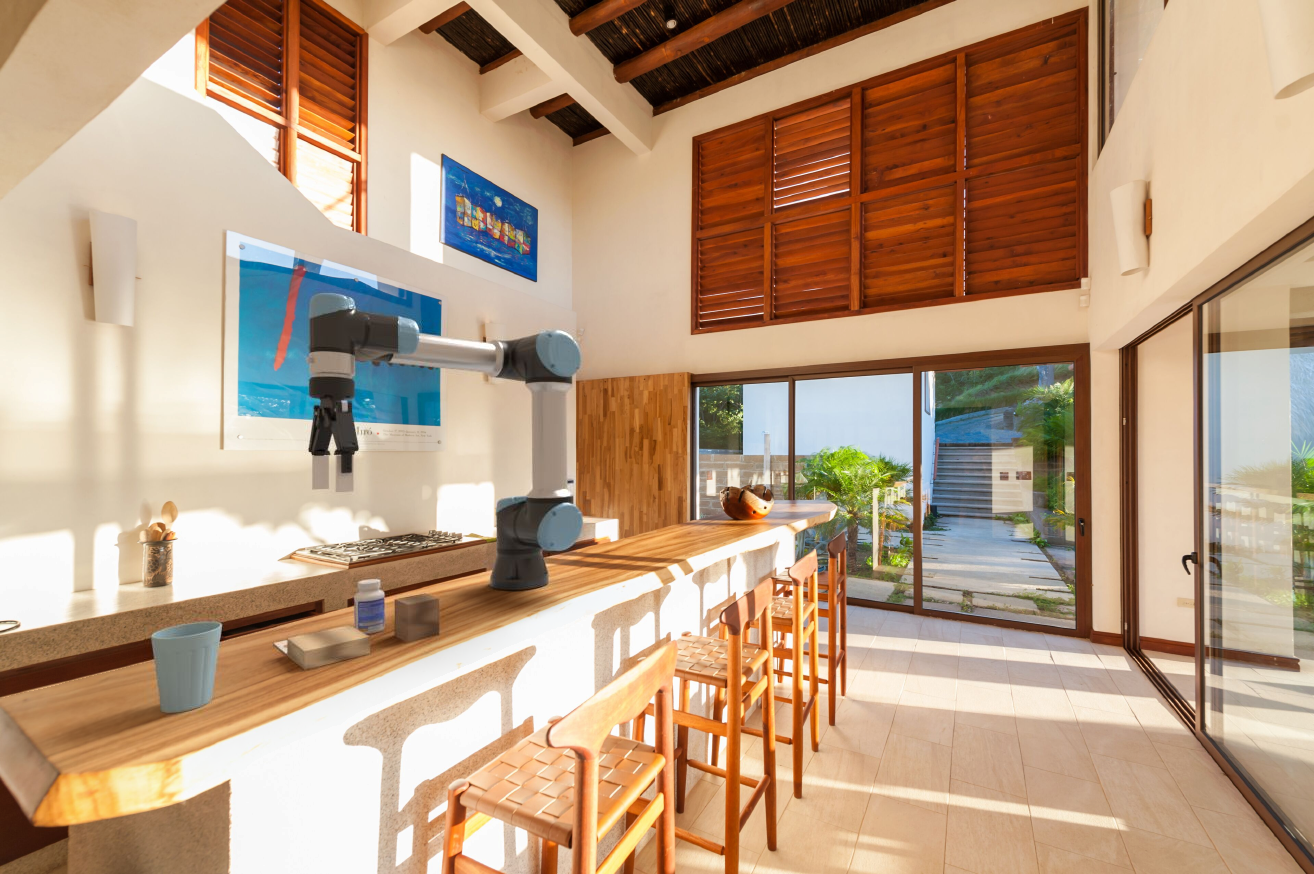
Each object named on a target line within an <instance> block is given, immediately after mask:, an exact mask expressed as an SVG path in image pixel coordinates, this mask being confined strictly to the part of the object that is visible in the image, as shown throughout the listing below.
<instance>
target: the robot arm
mask: <svg viewBox="0 0 1314 874" xmlns="http://www.w3.org/2000/svg"><path fill="white" fill-rule="evenodd" d="M307 319H308V333H309V334H308V335H309V336H308V339H309V340H308V341H309V355H308V357H306V358H305V361H306V363H308V364H309V367H308V368H309V371H308V372H309V374H310V376H311V377H310V378H309V379H308V396H309V397H310V398H312V399H319V400H320V402H319V404H314V406H313V416H312V417H313V418H312V424H311V431H310V435H309V437H310V438H309V442H308V443H309V444H308V447H307V448H308V449H307V451H308V453H310V454H311V456H312V457H311V458H312V462H311V464H312V468H311V469H312V470H311V471H312V472H311V476H312V478H311V479H312V481H311V482H312V487H311V489H312V490H329V488H330V456H331V455H332V454H331V451H330V450H329V447H330V444H331V440H332V437H333V440H334V441H333V442H334V443H335V447H336V449H335V450H334V452H333V455H334V456H335V493H349V492H354V455H355V454H356V452H358V451H359V449H360V446H359V442H358V441H359V440H358V437H357V431H356V426H355V421H354V415H353V402H352V401H351V400H354V398H355V396H356V394H355V393H356V392H355V391H356V388H355V387H356V385H355V384H356V382H355V380H354V379H353V378H354V377H355V376H356V363H367V362H375V363H376V362H378V363H391V364H401V365H411V366H420V367H431V368H440V369H449V370H459V371H466V372H467V371H470V372H476V373H477V372H478V373H484V374H486V375H487V376H488V377H490V378H497V379H503V380H504V379H505V380H510V381H516V382H517V381H518V382H525V383H524V384H525V386H524V387H526V389H528V390H529V392H531V393H530V394H531V465H532V466H531V469H532V471H531V478H532V479H531V480H532V481H531V483H532V484H531V487H532V488H531V490H530V491H529V492H528V493H527V494H526V495H519V496H511V497H510V496H509V497H504V498H500V499H499V500H498V501H497V503H496V508H495V510H496V511H495V516H496V517H495V518H496V521H495V522H496V558H495V562H494V564H493V567H492V569H491V570H492V571H491V574H490V576H489V577H490V578H489V587H490V588H492V589H495V590H501V591H519V590H520V591H522V590H530V589H531V590H532V589H536V588H540V587H544V586H546V585H548V583H550V574H549V570H548V567H547V565H546V562H545V559H544V556H543V550H544V551H548V552H549V551H550V552H552V551H556V552H558V551H559V552H560V551H564V550H568V549H569V548H570V547H572V546H573V545H574V544H575V543H576V541H577V540H579V538H580V536H581V534H582V531H583V528H584V527H583V526H584V519H583V514H582V512H581V510H579V508H578V507H577V506H576V505H575V504H574V493H573V492H572V491H571V490H570V489H569V488H568V433H567V431H568V426H567V425H568V424H567V422H568V421H567V415H568V412H567V393H568V391H569V390H570V389H571V388H573V376H574V375H575V374H576V373H577V372H578V370H579V369H580V368H581V365H582V353H581V350H580V346H579V345H578V343H577V341H576V340H574V338H573V337H572V336H571V335H570V334H569V333H567V332H565V331H563V330H559V329H557V330H556V329H555V330H544V331H542V332H539V333H535V334H532V335H529V336H524V337H522V338H521V337H520V338H515V339H510V340H499V339H492V340H489V342H484V341H479V340H477V341H476V340H471V339H464V338H457V337H452V336H451V337H450V336H449V337H448V336H441V335H435V334H428V333H422V332H421V333H420V329H419V325H418V324H417V322H416V321H415V320H413V319H411V318H408V317H407V318H406V317H402V316H400V315H396V316H395V315H388V314H384V313H383V314H382V313H376V312H369V311H364V310H363V311H362V310H360V309H356V303H355V300H354V299H353V298H352V297H350V296H347V295H344V294H340V293H332V292H331V293H330V292H321V293H320V292H319V293H316V294H314V295H312V297H311V298H310V301H309V311H308V318H307Z"/></svg>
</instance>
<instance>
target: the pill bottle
mask: <svg viewBox="0 0 1314 874" xmlns="http://www.w3.org/2000/svg"><path fill="white" fill-rule="evenodd" d="M380 588H381V579H379V578H371V579H363V580H359V581H358V582H357V590H358V591H359V592H357V593H355V595H353V596H354V597H353V600H354V601H353V603H354V604H353V606H354V607H353V608H354V612H353V613H354V614H353V615H354V628H356V629H358V630H359V631H361V632H363V633H365V634H366V635H371V634H376V633H380V632H381V631H384V630H385V628H386V613H385V611H386V610H385V609H386V606H385V604H386V601H385V598H386V597H385V596H386V594H385V591H383V590H382V589H380Z"/></svg>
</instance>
